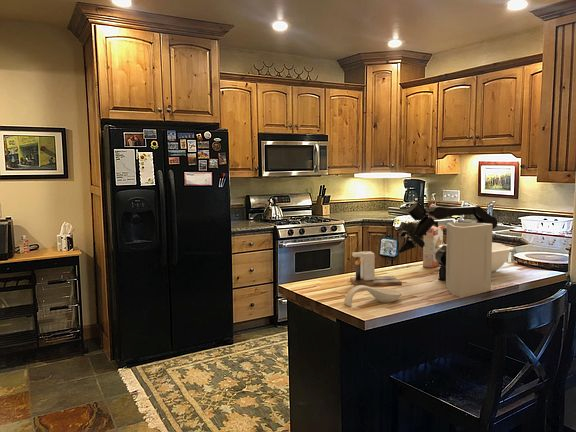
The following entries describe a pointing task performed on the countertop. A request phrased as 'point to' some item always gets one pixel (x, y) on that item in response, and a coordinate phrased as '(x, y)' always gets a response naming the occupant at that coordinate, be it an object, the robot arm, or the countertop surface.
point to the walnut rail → (377, 281)
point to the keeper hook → (358, 269)
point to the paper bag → (468, 258)
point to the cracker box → (432, 246)
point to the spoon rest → (374, 294)
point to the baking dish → (497, 255)
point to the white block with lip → (366, 264)
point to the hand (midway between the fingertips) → (398, 252)
